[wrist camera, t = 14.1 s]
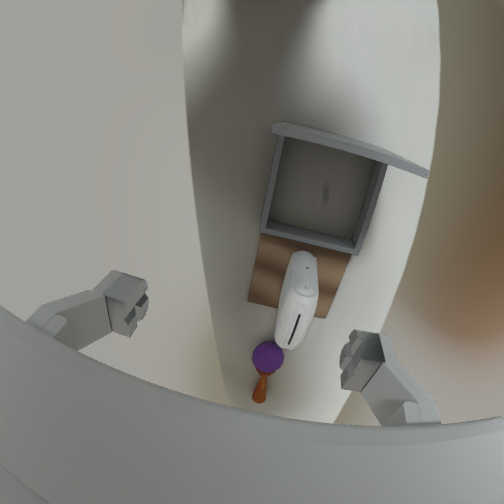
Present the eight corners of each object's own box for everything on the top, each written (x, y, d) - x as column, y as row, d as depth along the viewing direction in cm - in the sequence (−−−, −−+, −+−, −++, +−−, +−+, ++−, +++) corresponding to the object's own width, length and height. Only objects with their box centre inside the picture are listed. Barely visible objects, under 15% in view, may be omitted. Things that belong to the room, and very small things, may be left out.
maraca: (242, 402, 59) (249, 354, 48) (251, 383, 64) (260, 332, 53) (266, 411, 57) (280, 365, 47) (274, 391, 62) (289, 341, 51)
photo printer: (291, 246, 42) (287, 294, 32) (319, 252, 42) (323, 302, 31) (277, 299, 47) (268, 353, 37) (301, 305, 47) (299, 359, 36)
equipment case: (282, 121, 35) (271, 124, 22) (384, 149, 34) (429, 170, 21) (261, 224, 42) (242, 278, 29) (354, 246, 41) (374, 307, 28)
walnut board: (261, 231, 43) (261, 233, 42) (350, 252, 42) (350, 254, 41) (247, 299, 49) (247, 301, 48) (325, 316, 48) (325, 318, 48)
